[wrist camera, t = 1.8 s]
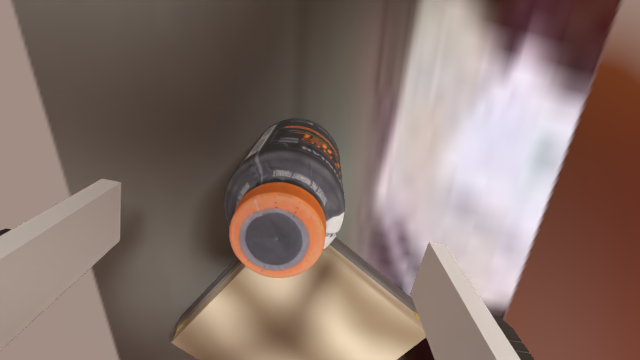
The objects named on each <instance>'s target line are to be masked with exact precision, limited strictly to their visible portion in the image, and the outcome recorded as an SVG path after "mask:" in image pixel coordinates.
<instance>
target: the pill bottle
mask: <svg viewBox="0 0 640 360" xmlns="http://www.w3.org/2000/svg"><path fill="white" fill-rule="evenodd" d="M344 211H345V200H344V192H343V185H342V175H341V167H340V157H339V152H338V148H337V145H336V143H335V141H334V140H333V138H332V137H331V135H330V134H329V133H328V132H327V131H326V130H325V129H324V128H323V127H321V126H320V125H318V124H316V123H314V122H312V121H309V120H303V119H288V120H283V121H281V122H278V123H276V124H274V125H273V126H271V127H270V128H268V129H267V130H266V131H265V132H264V133H263V135H262V136H261V137H260V139H259V140H258V141H257V143H256V144H255V145H254V147H253V148H252V149H251V151H250V152H249V153H248V155H247V156H246V157H245V159H244V160H243V161H242V163H241V164H240V165H239V167H238V168H237V169H236V170H235V172H234V173H233V175H232V177H231V178H230V180H229V182H228V185H227V187H226V191H225V196H224V212H225V217H226V220H227V223H228V226H229V239H230V242H231V246H232V249H233V251H234V253H235V255H236V256H237V257H238V259H239V260H240V261H241V262H242V263H243V264H244V265H245V266H246V267H248V268H249V269H250V270H252V271H254V272H256V273H258V274H260V275H263V276H267V277H272V278H287V277H292V276H295V275H298V274H301V273H302V272H304V271H306V270H307V269H309V268H310V267H311V266H312V265H313V264H314V263H315V262H316V261H317V260H318V258H319V257H320V255H321V253H322V251H323V250H324V249H325V248H326V247H327V246H328V245H329V244H330V243H331V242H332V241H333V240H334V238H335V237H336V235H337V233H338V232H339V230H340V227H341V225H342V222H343V217H344Z"/></svg>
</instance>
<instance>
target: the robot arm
mask: <svg viewBox="0 0 640 360" xmlns="http://www.w3.org/2000/svg"><path fill="white" fill-rule="evenodd" d="M120 219H121V182H117V181H112V180H107V179H100V180H99V181H97V182H95V183H93V184H92V185H90V186H88V187H86V188H85V189H83V190H81V191H79V192H77V193H76V194H74V195H72V196H70V197H69V198H67V199H65V200H63V201H62V202H60V203H58V204H56V205H55V206H53V207H51V208H49V209H47V210H46V211H44V212H42V213H40V214H38V215H37V216H35V217H33V218H32V219H30V220H28V221H26V222H25V223H22V224H21V225H19V226H17V227H15V228H14V229H12V230H11V229H4V230H1V231H0V351H1V350H2V349H3V348H4V347H5V346H6V345H7V344H8V343H9V342H10V341H12V340H13V339H14V338H15V337H16V336H17V335H18V334H19V333H20V332H21V331H22V330H24V329H25V328H26V327H27V326H28V325H29V324H30V323H31V322H32V321H33V320H34V319H35V318H37V317H38V316H39V315H40V313H42V312H43V311H44V310H45V309H46V308H47V307H49V306H50V305H51V304H52V303H53V302H54V301H55V300H56V299H57V298H58V297H59V296H60V295H62V294H63V293H64V292H65V291H66V290H67V289H68V288H69V287H70V286H71V285H72V284H73V283H75V282H76V280H78V279H79V278H80V277H81V276H82V275H83V274H84V273H85V272H86V271H87V270H89V269H90V268H91V267H92V266H93V265H94V264H95V263H96V262H97V261H98V260H99V259H101V258H102V257H103V256H104V255H105V254H106V253H107V252H108V251H109V250H110V249H111V248H113V247H114V246H115V245H116V244H117V243H118V242H119V241H120ZM410 294H411V297H412V299H413V302H414V305H415V307H416V310H417V313H418V315H419V318H420V321H421V323H422V326H423V329H424V332H425V334H426V337H427V340H428V342H429V345H430V348H431V350H432V353H433V356H434V359H435V360H534V358H533V357H532V356H531V354H529V351H528V350H527V348H526V347H525V345H524V344H522V343H521V340H520V338H519V337H518V335H517V334H516V333H515V331H514V330H513V328H512V327H510V326H509V325H508V324H507V323H506V322H505V321H504V320H503V319H502V318H500V317H498V316H492V315H491V313H490V312H489V310H488V309H487V307H486V306H485V304H484V303H483V301H482V300H481V298H480V297H479V295H478V293H477V292H476V290H475V289H474V287H473V286H472V284H471V283H470V281H469V280H468V278H467V277H466V275H465V274H464V272H463V270H462V269H461V267H460V266H459V264H458V263H457V261H456V260H455V258H454V257H453V255H452V254H451V252H450V251H449V249H448V247H447V246H446V245H443V244H438V243H432V242H429V244H428V246H427V249H426V252H425V255H424V257H423V260H422V263H421V266H420V268H419V271H418V274H417V277H416V279H415V282H414V285H413V288H412V290H411V293H410Z"/></svg>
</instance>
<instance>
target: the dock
mask: <svg viewBox="0 0 640 360" xmlns="http://www.w3.org/2000/svg"><path fill="white" fill-rule="evenodd" d="M176 328H177V331H176V334H175V336H174V338H173V340H172V342H171V343H172V344H174V345H175V346H177V347H179V348H180V349H182V350H183V351H185V352H187V353H188V354H190V355H191V356H193V357H195V358H196V359H198V360H397V359H398V358H399V357H401V356H402V355H403V354H404V353H406V352H407V351H408V350H410V349H411V348H412V347H414V346H415V345H416V344H418V343H419V342H420V341H422V340H423V339H424V338H426V334H425V332H424V329H423V326H422V323H421V321H420V318H419V315H418V313H417V310H416V307H415V305H414V302H413V299H412V298H410V297H409V296H408V295H407V294H405V293H404V292H403V291H402V290H401V289H399V288H398V287H397V286H396V285H394V284H393V283H392V282H391V281H389V280H388V279H387V278H386V277H384V276H383V275H382V274H381V273H379V272H378V271H377V270H376V269H375V268H373V267H372V266H371V265H370V264H368V263H367V262H366V261H365V260H363V259H362V258H361V257H360V256H358V255H357V254H356V253H355V252H353V251H352V250H351V249H350V248H349V247H347V246H346V245H345V244H344V243H342V242H341V241H340V240H339V239H337V238H336V237H335V238H334V240H333V241H332V242H331V243H330V244H329V245H328V246H327V247H326V248H325V249H324V250H323V251H322V253H321V255H320V257H319V258H318V260H317V261H316V262H315V263H314V264H313V265H312V266H311V267H310V268H309V269H307V270H306V271H304V272H302V273H301V274H298V275H295V276H292V277H287V278H272V277H267V276H263V275H260V274H258V273H256V272H254V271H252V270H250V269H249V268H248V267H246V266H245V265H244V264H243V263H242V262H241V261H240V260H239V259H238V257H237V258H236V259H235V260H234V261H233V263H232V264H231V265H230V266H229V267H228V268H227V269H226V270H225V271H224V272H223V273H222V274H221V275H220V276H219V277H218V278H217V279H216V280H215V281H214V282H213V283H212V285H211V286H210V287H209V288H208V289H207V290H206V291H205V292H204V293H203V294H202V295H201V296H200V297H199V298H198V299H197V300H196V301H195V302H194V303H193V304H192V305H191V306H190V308H189V309H188V310H187V311H186V312H185V313H184V314H183V315H182V316H181V318H180V320H179V322H178V324H177V326H176Z"/></svg>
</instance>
